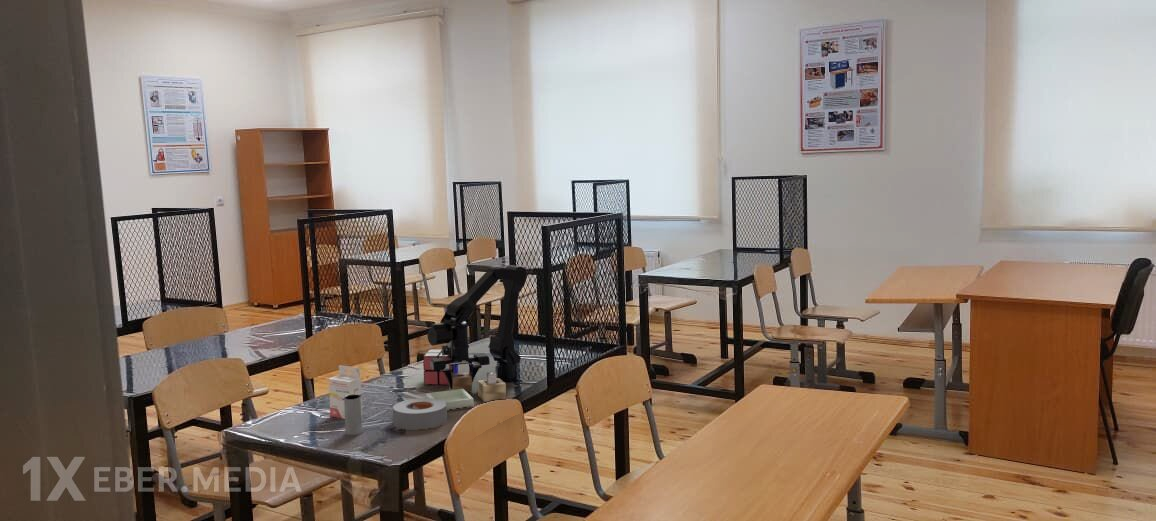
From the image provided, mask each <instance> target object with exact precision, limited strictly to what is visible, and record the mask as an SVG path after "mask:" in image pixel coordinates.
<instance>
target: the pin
mask: <svg viewBox="0 0 1156 521" xmlns="http://www.w3.org/2000/svg"><path fill="white" fill-rule="evenodd" d="M486 380H487V385H488V384H496V383H497V381H496V371H488V372H486Z"/></svg>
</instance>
